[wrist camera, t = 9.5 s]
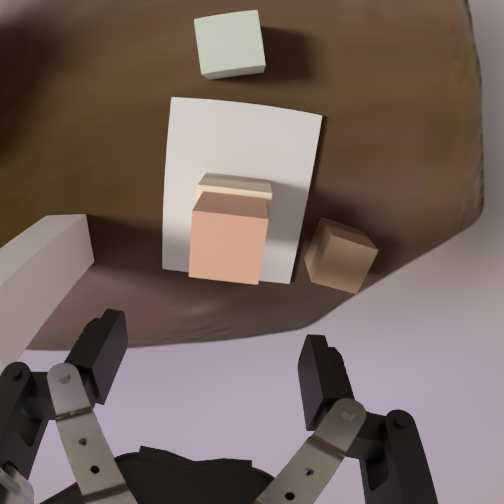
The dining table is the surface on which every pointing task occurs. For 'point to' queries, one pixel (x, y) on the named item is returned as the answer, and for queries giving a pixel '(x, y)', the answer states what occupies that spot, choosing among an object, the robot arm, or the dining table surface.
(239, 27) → the sage block
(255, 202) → the terracotta block
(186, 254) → the mat
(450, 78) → the dining table surface
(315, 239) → the walnut block
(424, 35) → the dining table surface
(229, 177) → the birch block
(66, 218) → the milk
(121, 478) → the robot arm
